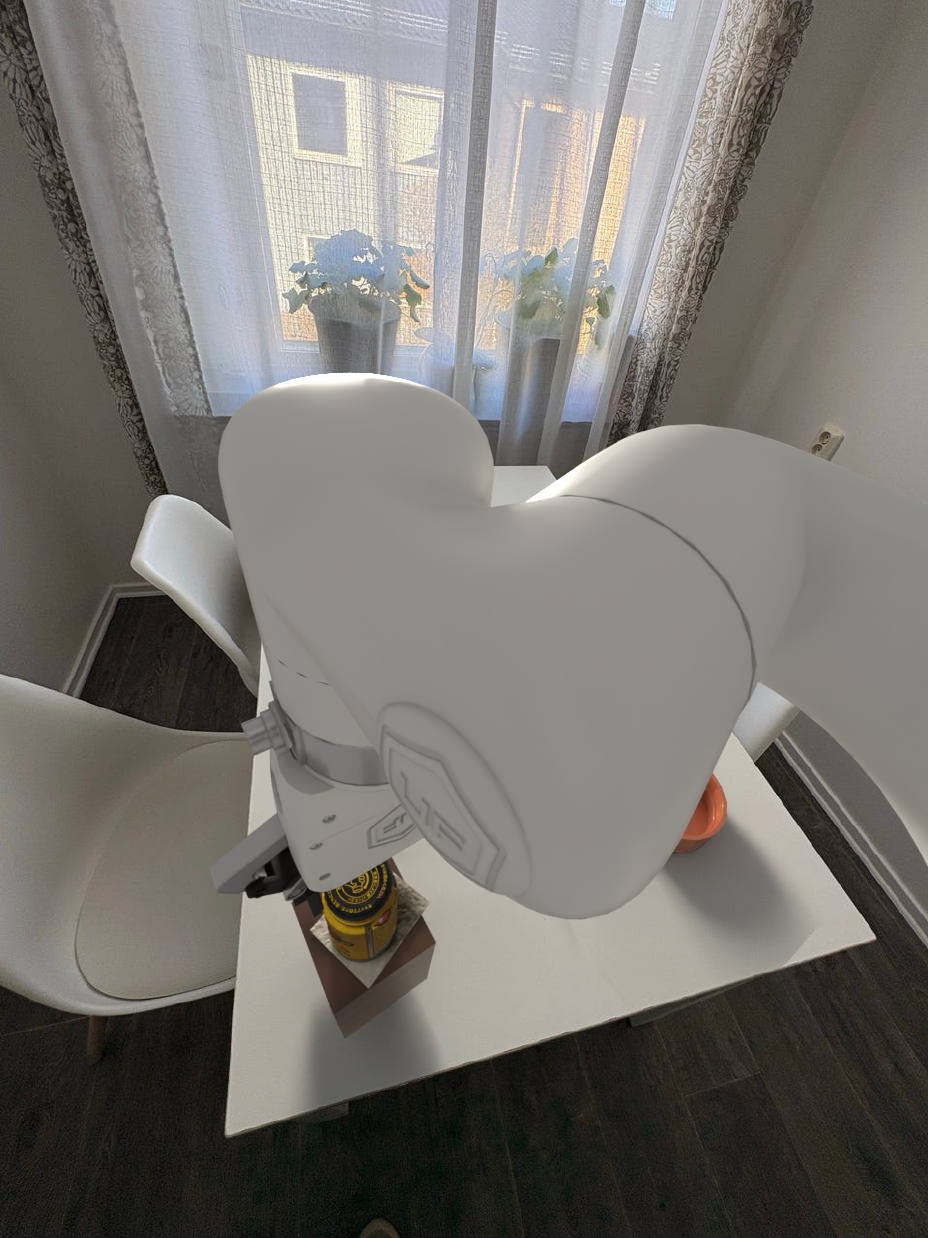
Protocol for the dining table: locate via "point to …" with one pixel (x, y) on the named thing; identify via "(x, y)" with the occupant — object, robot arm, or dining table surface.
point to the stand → (394, 981)
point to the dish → (705, 818)
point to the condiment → (368, 920)
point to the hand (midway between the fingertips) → (380, 850)
